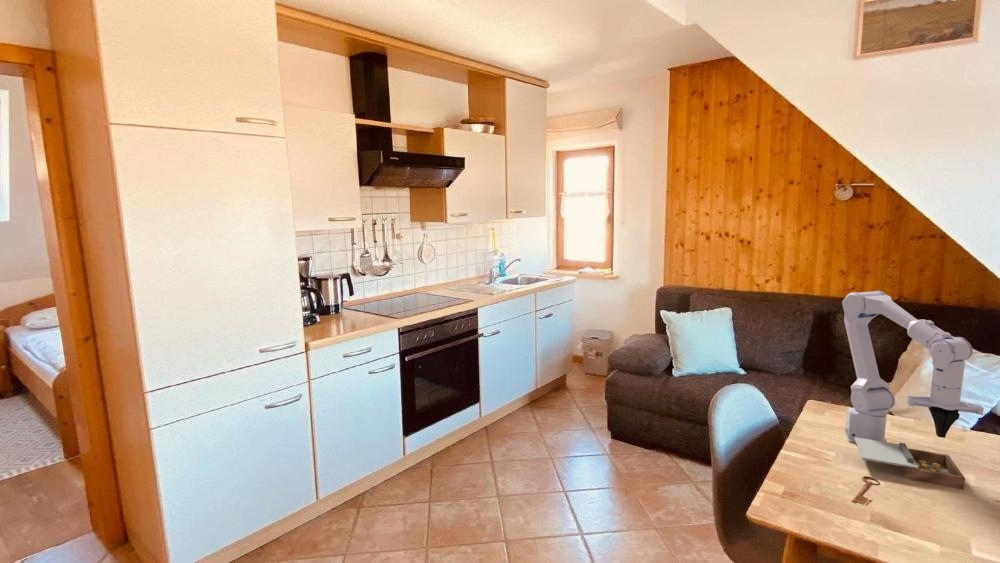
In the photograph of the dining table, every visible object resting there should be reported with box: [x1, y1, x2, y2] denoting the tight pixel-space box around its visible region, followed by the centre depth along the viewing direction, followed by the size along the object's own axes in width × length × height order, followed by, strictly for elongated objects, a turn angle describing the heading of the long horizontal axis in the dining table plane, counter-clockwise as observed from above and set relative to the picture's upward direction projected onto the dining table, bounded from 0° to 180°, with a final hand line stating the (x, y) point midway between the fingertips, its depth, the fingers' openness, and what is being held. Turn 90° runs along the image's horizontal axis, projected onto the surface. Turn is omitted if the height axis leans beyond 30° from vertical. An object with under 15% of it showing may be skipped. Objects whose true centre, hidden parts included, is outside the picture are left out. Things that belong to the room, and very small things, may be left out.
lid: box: [855, 437, 918, 469], centre depth 135 cm, size 12×13×2 cm
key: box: [851, 475, 881, 507], centre depth 124 cm, size 6×1×15 cm
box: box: [897, 447, 966, 490], centre depth 132 cm, size 12×13×3 cm
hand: (940, 435), depth 129 cm, fingers closed
